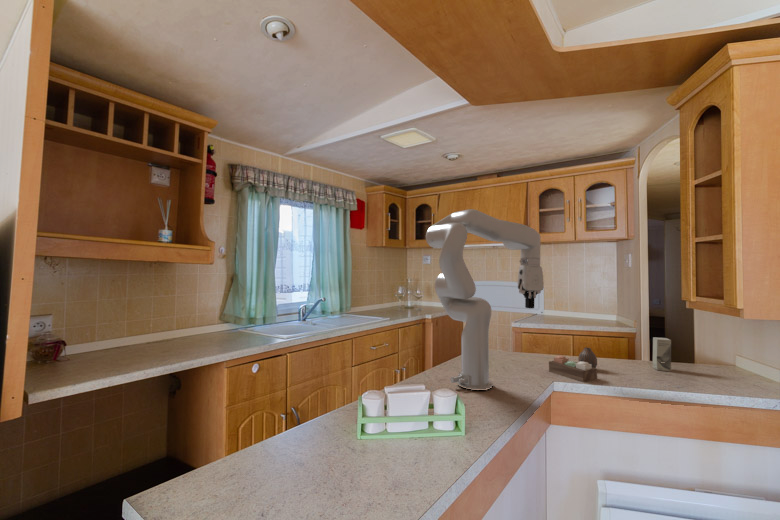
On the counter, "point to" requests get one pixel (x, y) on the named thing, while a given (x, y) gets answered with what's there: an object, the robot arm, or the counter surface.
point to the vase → (588, 357)
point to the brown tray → (573, 372)
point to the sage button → (571, 363)
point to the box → (662, 354)
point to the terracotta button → (561, 359)
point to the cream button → (583, 365)
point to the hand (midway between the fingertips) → (529, 307)
